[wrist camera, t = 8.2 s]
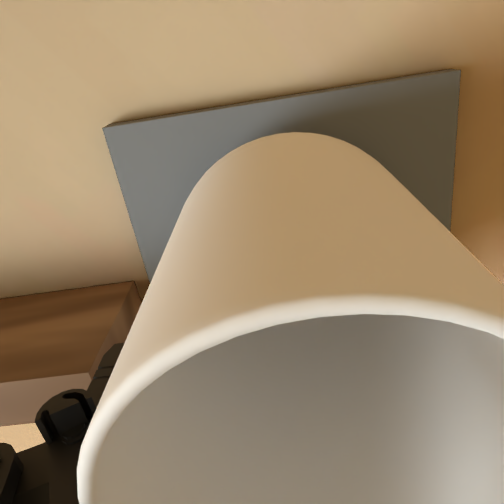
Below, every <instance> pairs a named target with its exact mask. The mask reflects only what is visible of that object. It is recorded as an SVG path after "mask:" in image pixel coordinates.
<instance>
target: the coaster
mask: <svg viewBox="0 0 504 504" xmlns="http://www.w3.org/2000/svg"><path fill="white" fill-rule="evenodd" d="M460 76H461V70H455V69H448V70H442V71H435V72H429V73H423V74H417V75H411V76H405V77H398V78H392V79H386V80H380V81H374V82H367V83H361V84H355V85H349V86H343V87H337V88H330V89H324V90H318V91H312V92H306V93H300V94H293V95H287V96H281V97H275V98H269V99H263V100H256V101H250V102H244V103H238V104H232V105H225V106H219V107H213V108H207V109H201V110H195V111H188V112H182V113H176V114H170V115H164V116H158V117H151V118H145V119H139V120H133V121H127V122H121V123H114V124H109V125H107V126H105V127H103V128H102V129H103V132H104V135H105V139H106V142H107V145H108V148H109V152H110V155H111V158H112V161H113V165H114V168H115V171H116V174H117V178H118V181H119V184H120V187H121V191H122V194H123V197H124V200H125V204H126V207H127V210H128V213H129V217H130V220H131V223H132V226H133V230H134V233H135V236H136V239H137V243H138V246H139V249H140V252H141V256H142V259H143V262H144V265H145V269H146V272H147V275H148V278H149V282H150V283H151V281H152V278H153V276H154V274H155V271H156V269H157V267H158V264H159V262H160V260H161V257H162V255H163V253H164V250H165V248H166V246H167V243H168V241H169V239H170V236H171V234H172V232H173V229H174V227H175V225H176V222H177V220H178V218H179V215H180V213H181V211H182V208H183V206H184V204H185V202H186V200H187V198H188V197H189V195H190V193H191V192H192V190H193V188H194V187H195V185H196V184H197V182H198V181H199V180H200V179H201V177H202V176H203V175H204V174H205V172H206V171H207V170H208V169H209V168H210V167H212V166H213V165H214V164H215V163H216V162H217V161H218V160H219V159H221V158H222V157H224V156H225V155H226V154H228V153H229V152H231V151H232V150H234V149H236V148H238V147H240V146H242V145H244V144H245V143H248V142H251V141H253V140H256V139H259V138H261V137H265V136H270V135H274V134H279V133H290V132H303V133H316V134H321V135H327V136H331V137H334V138H337V139H340V140H343V141H345V142H347V143H350V144H352V145H354V146H356V147H358V148H359V149H361V150H362V151H364V152H365V153H367V154H368V155H370V156H371V157H373V158H374V159H376V160H377V161H378V162H379V163H380V164H381V165H382V166H383V167H384V168H386V169H387V170H388V171H389V172H390V173H391V174H392V175H393V176H394V177H395V178H396V179H397V180H398V181H399V182H400V183H401V184H402V185H403V186H404V187H405V188H406V189H407V190H408V191H409V192H410V193H411V194H412V195H413V196H414V197H415V198H416V199H417V200H418V201H419V202H420V203H421V204H422V205H423V206H424V207H425V208H426V209H427V210H428V211H429V212H430V213H431V214H433V215H434V216H435V217H436V218H437V219H438V220H439V221H440V222H441V223H442V224H443V225H444V226H445V227H446V228H447V229H448V230H449V231H450V227H451V212H452V196H453V181H454V166H455V151H456V136H457V121H458V106H459V91H460Z"/></svg>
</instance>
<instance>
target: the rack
mask: <svg viewBox="0 0 504 504" xmlns="http://www.w3.org/2000/svg"><path fill="white" fill-rule="evenodd" d="M140 306H141V300H140V297H139V294H138V291H137V288H136V285H135V282H134V281H131V282H124V283H116V284H109V285H101V286H94V287H86V288H79V289H71V290H64V291H56V292H49V293H41V294H34V295H26V296H19V297H11V298H4V299H0V426H9V425H18V424H27V423H35V418H36V414H37V412H38V411H39V409H40V408H41V407H42V405H43V404H44V403H46V402H47V401H48V400H49V399H50V398H52V397H53V396H55V395H57V394H59V393H61V392H63V391H67V390H70V389H84V390H86V391H87V389H88V387H89V385H90V383H91V380H93V376H94V374H95V372H96V370H98V366H99V364H100V362H101V360H102V357H103V355H104V354H105V353H106V352H107V351H108V350H109V349H110V348H111V347H112V346H113V345H114V344H117V343H125V341H126V339H127V336H128V334H129V332H130V329H131V327H132V325H133V322H134V320H135V318H136V315H137V313H138V311H139V308H140Z"/></svg>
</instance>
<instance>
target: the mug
mask: <svg viewBox="0 0 504 504" xmlns="http://www.w3.org/2000/svg"><path fill="white" fill-rule="evenodd" d="M77 492H78V500H79V504H504V285H503V284H502V283H501V282H500V281H499V280H498V279H497V278H496V277H495V276H494V275H493V274H492V273H491V272H490V271H489V270H488V269H487V268H486V267H485V266H484V265H483V264H482V263H481V262H480V261H479V260H478V259H477V258H476V257H475V256H474V255H473V254H472V253H471V252H470V251H469V250H468V249H467V248H466V247H465V246H464V245H463V244H462V243H461V242H460V241H459V240H458V239H457V238H456V237H455V236H454V235H453V234H452V233H451V232H450V231H449V230H448V229H447V228H446V227H445V226H444V225H443V224H442V223H441V222H440V221H439V220H438V219H437V218H436V217H435V216H434V215H433V214H431V213H430V212H429V211H428V210H427V209H426V208H425V207H424V206H423V205H422V204H421V203H420V202H419V201H418V200H417V199H416V198H415V197H414V196H413V195H412V194H411V193H410V192H409V191H408V190H407V189H406V188H405V187H404V186H403V185H402V184H401V183H400V182H399V181H398V180H397V179H396V178H395V177H394V176H393V175H392V174H391V173H390V172H389V171H388V170H387V169H386V168H384V167H383V166H382V165H381V164H380V163H379V162H378V161H377V160H376V159H374V158H373V157H371V156H370V155H368V154H367V153H365V152H364V151H362V150H361V149H359V148H358V147H356V146H354V145H352V144H350V143H347V142H345V141H343V140H340V139H337V138H334V137H331V136H327V135H321V134H316V133H303V132H290V133H279V134H274V135H270V136H265V137H261V138H259V139H256V140H253V141H251V142H248V143H245V144H244V145H242V146H240V147H238V148H236V149H234V150H232V151H231V152H229V153H228V154H226V155H225V156H224V157H222V158H221V159H219V160H218V161H217V162H216V163H215V164H214V165H213V166H212V167H210V168H209V169H208V170H207V171H206V172H205V174H204V175H203V176H202V177H201V179H200V180H199V181H198V182H197V184H196V185H195V187H194V188H193V190H192V192H191V193H190V195H189V197H188V198H187V200H186V202H185V204H184V206H183V208H182V211H181V213H180V215H179V218H178V220H177V222H176V225H175V227H174V229H173V232H172V234H171V236H170V239H169V241H168V243H167V246H166V248H165V250H164V253H163V255H162V257H161V260H160V262H159V264H158V267H157V269H156V271H155V274H154V276H153V278H152V281H151V283H150V285H149V287H148V290H147V292H146V294H145V297H144V299H143V301H142V304H141V306H140V308H139V311H138V313H137V315H136V318H135V320H134V322H133V325H132V327H131V329H130V332H129V334H128V336H127V339H126V341H125V343H124V346H123V348H122V350H121V353H120V355H119V357H118V360H117V362H116V364H115V367H114V369H113V371H112V373H111V376H110V378H109V380H108V383H107V385H106V387H105V390H104V392H103V394H102V397H101V399H100V401H99V404H98V406H97V408H96V411H95V413H94V415H93V418H92V420H91V422H90V425H89V427H88V430H87V432H86V435H85V437H84V440H83V442H82V445H81V448H80V454H79V459H78V465H77Z"/></svg>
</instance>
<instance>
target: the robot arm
mask: <svg viewBox="0 0 504 504" xmlns="http://www.w3.org/2000/svg"><path fill="white" fill-rule="evenodd" d="M123 346H124V343H117V344H114V345H113V346H112V347H111V348H110V349H109V350H108V351H107V352H106V353H105V354H104V355H103V357H102V360H101V362H100V364H99V366H98V370H96V372H95V374H94V376H93V380H91V383H90V385H89V387H88V389H87V391H86V390H84V389H70V390H67V391H63V392H61V393H59V394H57V395H55V396H53V397H52V398H50V399H49V400H48V401H47V402H46V403H44V404H43V405H42V407H41V408H40V409H39V411H38V412H37V414H36V418H35V423H36V425H37V427H38V429H39V430H40V432H41V434H42V436H43V438H44V439H45V441H46V442H45V443H42V444H40V445H37V446H35V447H32V448H29V449H27V450H24V451H21V452H19V453H16V452H15V451H14V449H13V447H12V446H11V445H10V444H6V443H0V504H79V500H78V492H77V465H78V459H79V454H80V448H81V445H82V442H83V440H84V437H85V435H86V432H87V430H88V427H89V425H90V422H91V420H92V418H93V415H94V413H95V411H96V408H97V406H98V404H99V401H100V399H101V397H102V394H103V392H104V390H105V387H106V385H107V383H108V380H109V378H110V376H111V373H112V371H113V369H114V367H115V364H116V362H117V360H118V357H119V355H120V353H121V350H122V348H123Z"/></svg>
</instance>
